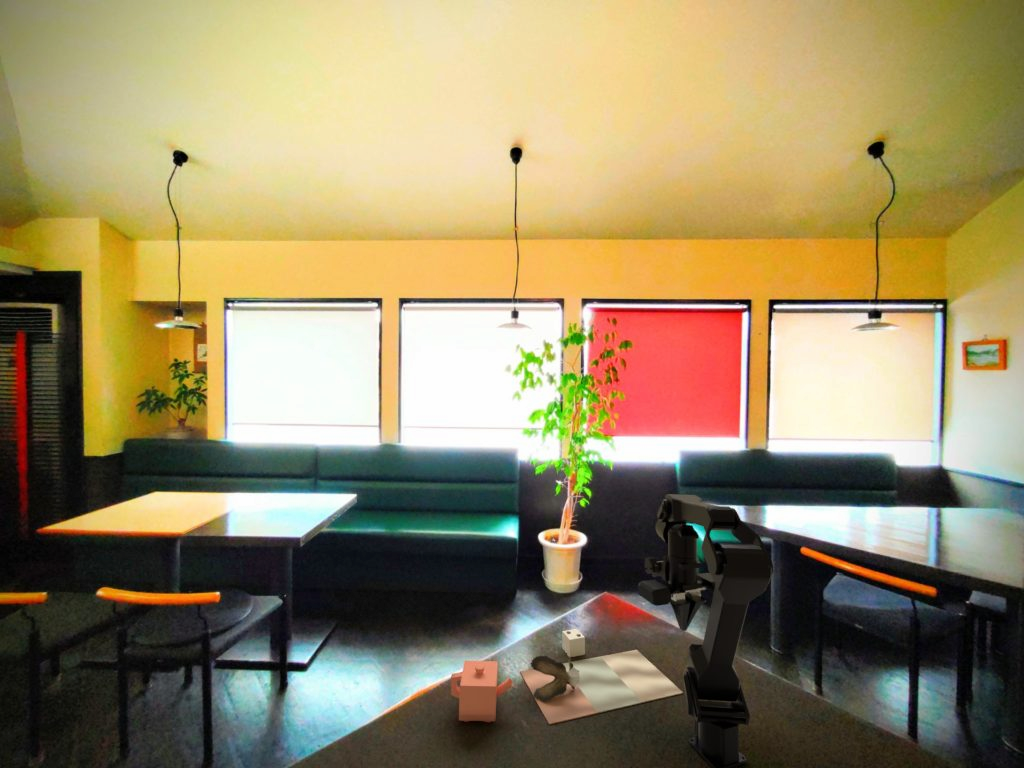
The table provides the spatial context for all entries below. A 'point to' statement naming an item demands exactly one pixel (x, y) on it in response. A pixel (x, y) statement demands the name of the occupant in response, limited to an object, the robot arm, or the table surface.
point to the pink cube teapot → (478, 690)
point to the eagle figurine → (556, 670)
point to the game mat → (603, 686)
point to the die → (573, 642)
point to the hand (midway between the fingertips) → (683, 629)
